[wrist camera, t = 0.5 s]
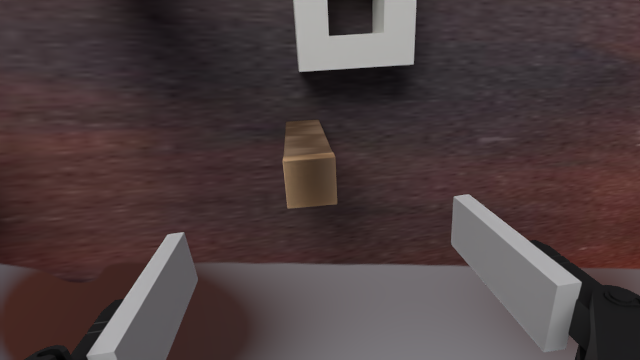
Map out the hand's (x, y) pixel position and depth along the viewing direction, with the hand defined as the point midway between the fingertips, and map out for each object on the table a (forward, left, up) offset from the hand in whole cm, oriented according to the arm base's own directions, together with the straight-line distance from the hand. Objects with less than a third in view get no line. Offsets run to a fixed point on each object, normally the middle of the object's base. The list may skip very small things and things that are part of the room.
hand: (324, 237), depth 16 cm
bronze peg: (0, -1, -27) cm, 27 cm away
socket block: (+6, +13, -27) cm, 30 cm away
